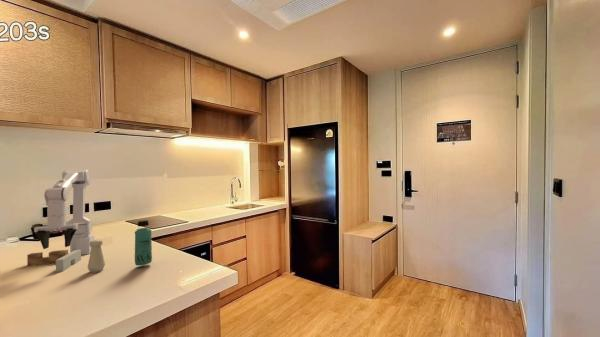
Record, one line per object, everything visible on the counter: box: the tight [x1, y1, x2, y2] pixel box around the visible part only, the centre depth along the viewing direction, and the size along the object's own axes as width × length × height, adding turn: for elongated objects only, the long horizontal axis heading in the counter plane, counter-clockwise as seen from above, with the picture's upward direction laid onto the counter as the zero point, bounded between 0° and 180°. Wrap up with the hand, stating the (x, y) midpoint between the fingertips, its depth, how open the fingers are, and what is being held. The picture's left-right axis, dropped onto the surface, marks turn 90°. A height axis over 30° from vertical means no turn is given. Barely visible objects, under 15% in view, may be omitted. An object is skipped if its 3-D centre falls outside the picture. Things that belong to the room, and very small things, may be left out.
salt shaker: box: [87, 238, 106, 274], centre depth 108 cm, size 6×6×13 cm
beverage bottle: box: [134, 219, 153, 266], centre depth 111 cm, size 6×7×20 cm
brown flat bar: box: [26, 249, 69, 267], centre depth 120 cm, size 14×2×5 cm, turn 108°
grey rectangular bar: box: [55, 250, 82, 273], centre depth 115 cm, size 15×2×5 cm, turn 18°
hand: (56, 247), depth 109 cm, fingers open, 7 cm apart
